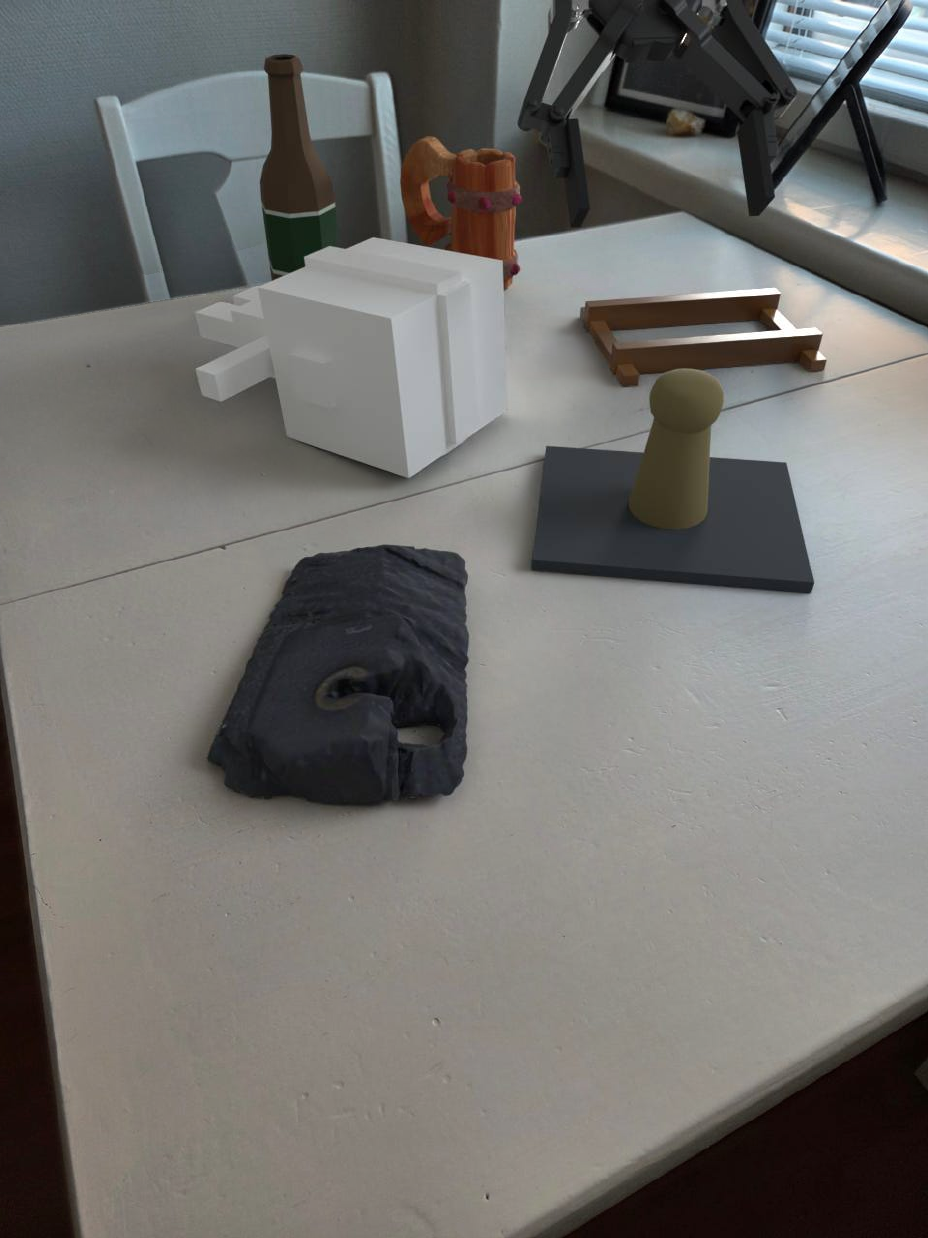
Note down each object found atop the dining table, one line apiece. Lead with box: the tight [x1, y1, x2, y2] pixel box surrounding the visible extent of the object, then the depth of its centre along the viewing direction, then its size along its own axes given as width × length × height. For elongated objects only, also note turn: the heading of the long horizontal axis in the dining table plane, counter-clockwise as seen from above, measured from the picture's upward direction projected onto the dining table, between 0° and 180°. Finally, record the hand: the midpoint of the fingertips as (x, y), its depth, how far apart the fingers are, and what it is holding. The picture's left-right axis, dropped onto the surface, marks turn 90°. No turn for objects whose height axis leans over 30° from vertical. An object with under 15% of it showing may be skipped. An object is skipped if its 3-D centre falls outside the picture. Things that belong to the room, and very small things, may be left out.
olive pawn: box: [629, 368, 725, 530], centre depth 70 cm, size 6×6×11 cm
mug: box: [399, 135, 523, 291], centre depth 104 cm, size 15×8×15 cm, turn 59°
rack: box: [579, 287, 828, 388], centre depth 97 cm, size 16×21×3 cm
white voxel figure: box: [194, 236, 509, 479], centre depth 83 cm, size 15×25×28 cm
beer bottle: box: [259, 53, 340, 281], centre depth 97 cm, size 8×8×24 cm
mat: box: [530, 445, 815, 594], centre depth 74 cm, size 20×16×1 cm
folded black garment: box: [206, 544, 470, 807], centre depth 60 cm, size 15×22×5 cm
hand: (672, 213), depth 68 cm, fingers open, 13 cm apart
